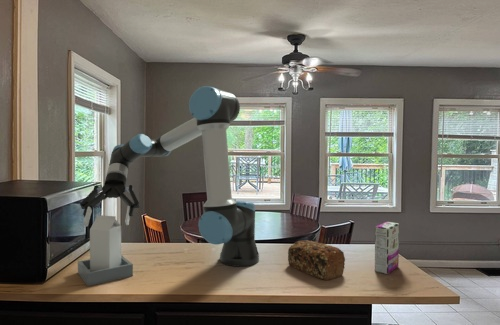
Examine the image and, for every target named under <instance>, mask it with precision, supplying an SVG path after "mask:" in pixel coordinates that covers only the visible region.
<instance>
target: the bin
mask: <svg viewBox="0 0 500 325" xmlns="http://www.w3.org/2000/svg"><path fill="white" fill-rule="evenodd" d="M133 265H134V264H133V263H132V262H130V260H128V259H127V258H126V257H125V256H124V255H122V254H121V266H117V267H112V268H107V269H102V270H97V271H92V272H90V258H88V259H83V260H78V261H77V274H78V275H79V276H80V278H81V279H82V281H83V282H84V284H85V285H86V286H87V287H91V286H95V285H99V284H103V283H109V282H113V281H117V280H122V279H125V278H130V277H133V276H134V271H133V269H134V266H133Z"/></svg>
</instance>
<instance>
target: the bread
mask: <svg viewBox="0 0 500 325" xmlns="http://www.w3.org/2000/svg"><path fill="white" fill-rule="evenodd" d="M287 254H288V257H287V261H288V265H289V266H290V267H291V268H294V269H296V270H298V271H299V272H304V273H305V274H308V275H311V276H312V277H314V278H317V279H320V280H324V281H330V280H333V279H336V278H339V277H341V276H343V274H344V271H345V270H344V269H345V265H346V264H345V262H346V258H345V255H344V252H343V250H341V249H340V248H339V247H336V246H333V245H329V244H327V243H323V242H322V243H321V242H317V241H312V240H308V239H307V240H298V241H295V242H294V243H293V244H292V245H290V246H289V248H288V251H287Z"/></svg>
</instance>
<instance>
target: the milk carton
mask: <svg viewBox="0 0 500 325" xmlns="http://www.w3.org/2000/svg"><path fill="white" fill-rule="evenodd" d="M95 217H96V218H95V220H94V222H93V223H92V225H91V227H90V228H89V259H90V272H92V271H97V270H102V269H107V268H112V267H117V266H121V255H122V225H121V224H120V223H119V222H118V220H117V219H116V218H117V217H116V216H114V215H99V214H97V215H95Z"/></svg>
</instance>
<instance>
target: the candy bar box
mask: <svg viewBox="0 0 500 325" xmlns="http://www.w3.org/2000/svg"><path fill="white" fill-rule="evenodd" d="M374 228H375V229H374V272H376V273H380V274H385V275H389V274H391V273H392V272H393V271H395V270H396V268H398V267H399V256H400V255H399V252H400V251H399V250H400V249H399V248H400V247H399V246H400V245H399V244H400V243H399V242H400V239H399V238H400V223H398V222H393V221H385V222H383V223H382V222H381V224H378V225H376V226H374Z"/></svg>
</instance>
